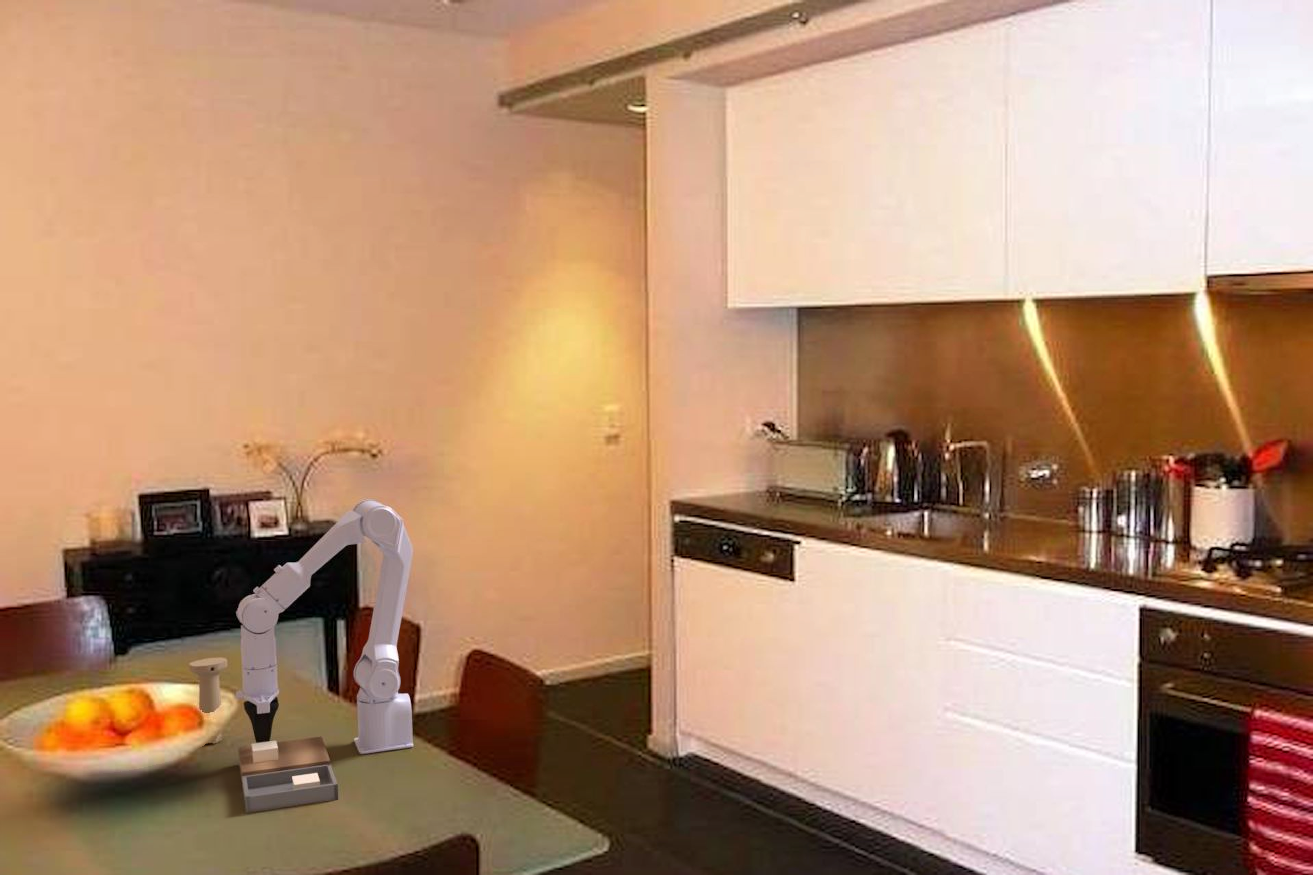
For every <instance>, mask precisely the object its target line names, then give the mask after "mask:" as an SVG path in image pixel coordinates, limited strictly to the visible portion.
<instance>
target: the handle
mask: <svg viewBox="0 0 1313 875" xmlns="http://www.w3.org/2000/svg"><path fill="white" fill-rule="evenodd" d="M188 665H189V666H188V667H189V671H190V673H193V674H195V675H197V676H198V680H199V682H198V684H199V689H198V690H199V692H198V696H199V697H198V698H199V699H198V710H199V709H200V710H202V712H204V713H210V712H214V711H215V710H216V709H217V708H219V706H220V705H221V703H222V696H221V690H220V689H221V688H220V687H221V686H220V673H221V672H223V670H225V669H226V668H227V667H228V660H227V658H226V657H209V658H203V659H199V660H194V661H192V662H189V664H188ZM222 731H223V730H222ZM222 731H221V732H220V733H219V734H218V736H217V738H215V740H213V743H214V742H215V743H216V744H217V743H220V742H221V741H222V738H223V734H222Z"/></svg>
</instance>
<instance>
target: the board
mask: <svg viewBox="0 0 1313 875" xmlns="http://www.w3.org/2000/svg"><path fill="white" fill-rule="evenodd" d="M276 742H277V741H276ZM277 746H278V760H271V761H263V762H256V763H253V758H252V745H247V746H240V747H237V748H238V749H237V750H238V768H239V774H240V781H241V786H242V787H241V788H242V789H243V783H242V776H248V775H255V774H262V773H269V772H276V771H284V770H291V769H298V768H305V767H312V766H319V765H326V764H331V759H330V755H329V754H328V751H327V748H326V747H327V746H325V743H324V739H323V737H322V736H314V737H308V738H307V737H306V738H299V739H294V740H284V741H278V742H277Z"/></svg>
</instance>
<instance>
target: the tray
mask: <svg viewBox="0 0 1313 875" xmlns="http://www.w3.org/2000/svg"><path fill="white" fill-rule="evenodd" d="M312 773H317V774H318V777H319V780H320V785H319V786H312V787H305V788H298V789H292V776H298V775H305V774H312ZM242 783H243V788H242V794H243V800H244V807H245V808H244V809H245V814H249V813H258V812H263V811H271V810H276V809H284V808H289V807H296V806H302V805H303V806H304V805H309V804H310V805H311V804H315V803H322V802H329V801H337V800H339V788H338V787H339V786H338V784H339V783H338V781H337V778H336V776H335V773H334V770H333V768H332V764H331V763H330V764H326V765H319V766H312V767H305V768H298V769H291V770H284V771H276V772H269V773H262V774H255V775H248V776H242V781H241V784H242Z"/></svg>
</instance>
